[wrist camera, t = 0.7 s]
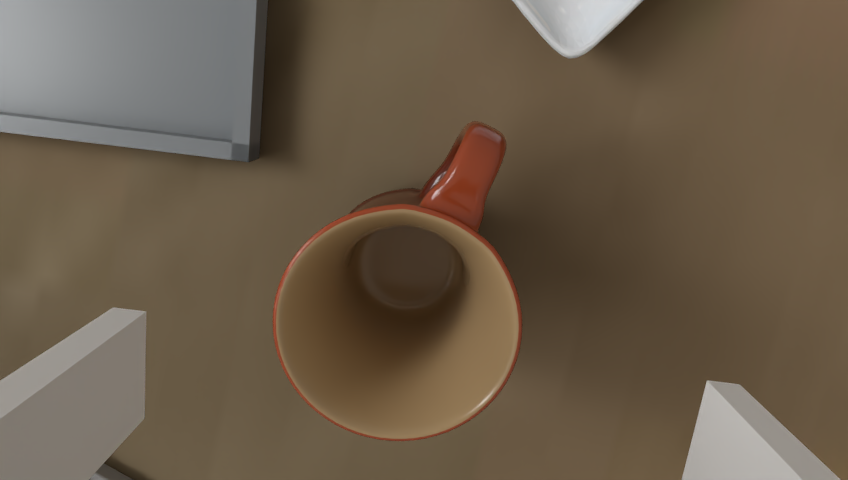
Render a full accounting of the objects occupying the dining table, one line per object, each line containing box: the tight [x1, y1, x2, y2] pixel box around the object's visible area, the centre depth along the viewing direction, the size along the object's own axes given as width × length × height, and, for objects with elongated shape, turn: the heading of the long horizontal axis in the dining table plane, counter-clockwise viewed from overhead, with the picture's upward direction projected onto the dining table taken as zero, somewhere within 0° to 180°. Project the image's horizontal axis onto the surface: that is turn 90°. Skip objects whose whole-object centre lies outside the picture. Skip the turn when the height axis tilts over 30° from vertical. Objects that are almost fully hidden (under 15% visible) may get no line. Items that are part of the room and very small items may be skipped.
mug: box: [273, 121, 522, 441], centre depth 25 cm, size 12×9×10 cm
